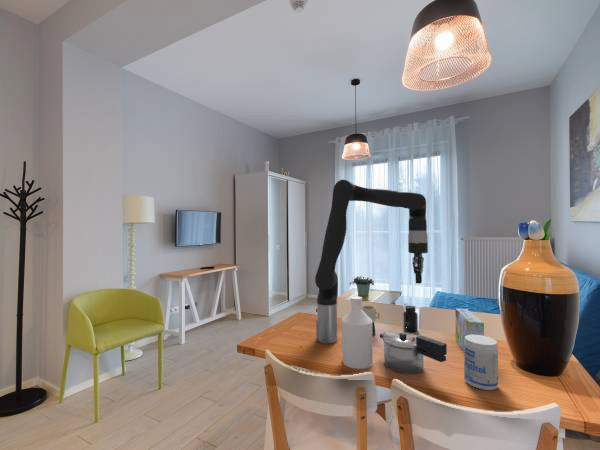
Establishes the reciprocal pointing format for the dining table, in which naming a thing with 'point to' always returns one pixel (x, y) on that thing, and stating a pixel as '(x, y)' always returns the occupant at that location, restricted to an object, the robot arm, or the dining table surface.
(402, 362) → the pot
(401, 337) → the lid
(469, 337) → the supplement tub
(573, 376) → the dining table surface
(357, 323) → the bottle
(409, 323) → the supplement bottle
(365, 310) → the character mug
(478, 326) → the snack box
